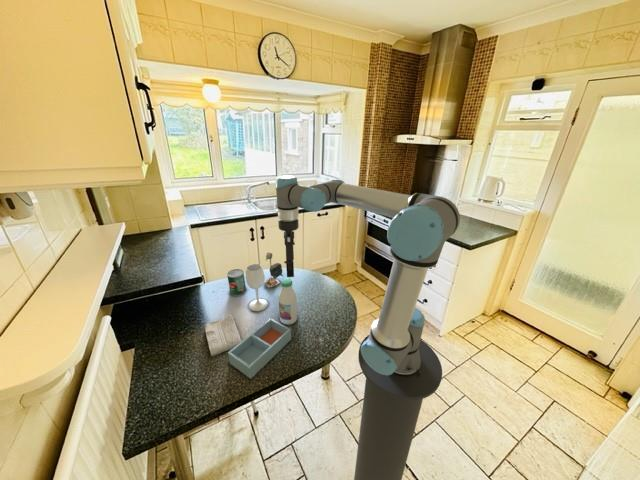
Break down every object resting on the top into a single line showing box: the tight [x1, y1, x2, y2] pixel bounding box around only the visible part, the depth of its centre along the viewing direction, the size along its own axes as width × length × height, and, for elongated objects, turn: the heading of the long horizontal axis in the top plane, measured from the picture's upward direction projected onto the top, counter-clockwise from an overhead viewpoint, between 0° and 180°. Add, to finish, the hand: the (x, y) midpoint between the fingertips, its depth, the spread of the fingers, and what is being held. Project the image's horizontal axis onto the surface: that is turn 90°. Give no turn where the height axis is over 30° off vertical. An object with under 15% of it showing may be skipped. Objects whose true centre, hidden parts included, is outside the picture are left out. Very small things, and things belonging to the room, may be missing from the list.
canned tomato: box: [226, 268, 247, 297], centre depth 130 cm, size 8×8×11 cm
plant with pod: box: [264, 252, 284, 288], centre depth 135 cm, size 8×11×20 cm
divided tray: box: [227, 317, 292, 380], centre depth 96 cm, size 11×21×5 cm, turn 146°
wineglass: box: [245, 263, 269, 312], centre depth 117 cm, size 9×9×21 cm
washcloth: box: [204, 315, 242, 357], centre depth 103 cm, size 12×18×3 cm, turn 30°
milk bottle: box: [278, 277, 298, 325], centre depth 109 cm, size 8×8×20 cm
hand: (290, 267), depth 104 cm, fingers open, 13 cm apart
